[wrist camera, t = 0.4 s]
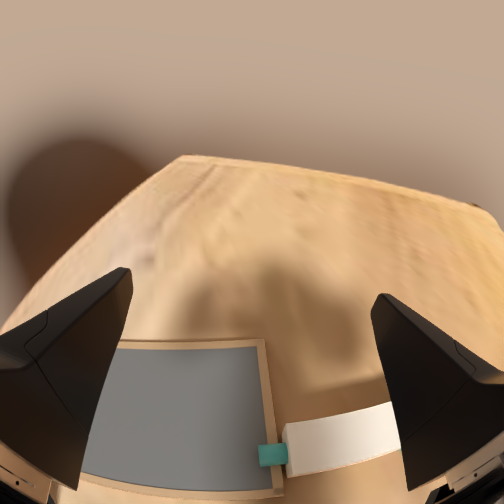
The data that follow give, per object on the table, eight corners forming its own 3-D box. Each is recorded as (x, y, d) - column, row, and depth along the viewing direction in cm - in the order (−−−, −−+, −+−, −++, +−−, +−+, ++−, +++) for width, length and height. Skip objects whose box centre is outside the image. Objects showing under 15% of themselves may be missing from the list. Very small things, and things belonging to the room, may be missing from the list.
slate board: (283, 496, 15) (284, 496, 14) (46, 467, 13) (42, 465, 13) (264, 342, 26) (264, 338, 26) (72, 341, 25) (69, 338, 25)
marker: (418, 442, 17) (442, 429, 14) (261, 481, 16) (262, 479, 13) (407, 405, 20) (428, 387, 17) (256, 436, 19) (256, 425, 16)
